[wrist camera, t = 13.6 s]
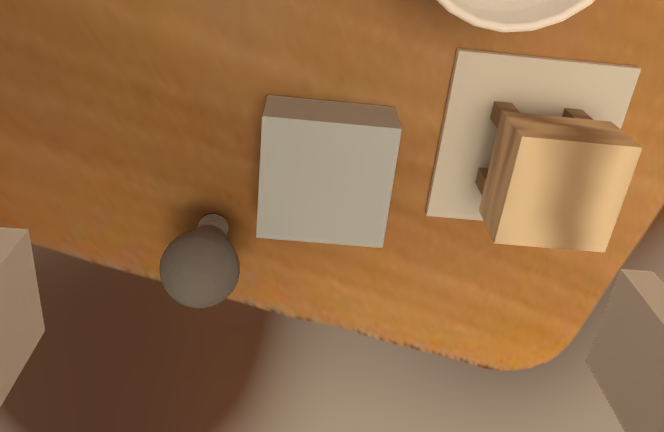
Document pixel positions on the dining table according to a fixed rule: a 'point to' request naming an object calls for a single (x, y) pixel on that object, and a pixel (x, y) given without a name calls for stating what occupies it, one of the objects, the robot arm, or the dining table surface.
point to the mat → (528, 97)
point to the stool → (555, 179)
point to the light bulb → (201, 264)
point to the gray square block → (326, 171)
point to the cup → (514, 12)
